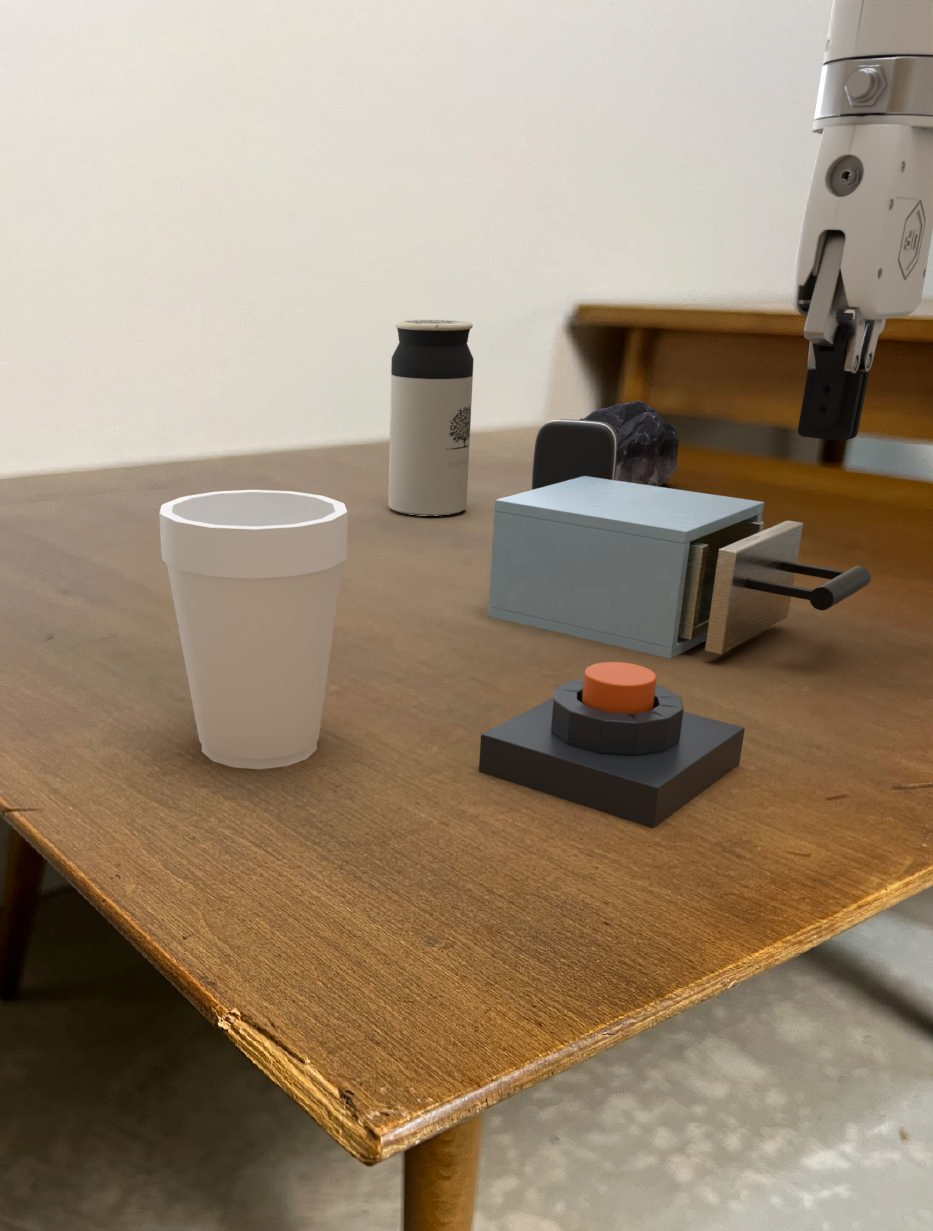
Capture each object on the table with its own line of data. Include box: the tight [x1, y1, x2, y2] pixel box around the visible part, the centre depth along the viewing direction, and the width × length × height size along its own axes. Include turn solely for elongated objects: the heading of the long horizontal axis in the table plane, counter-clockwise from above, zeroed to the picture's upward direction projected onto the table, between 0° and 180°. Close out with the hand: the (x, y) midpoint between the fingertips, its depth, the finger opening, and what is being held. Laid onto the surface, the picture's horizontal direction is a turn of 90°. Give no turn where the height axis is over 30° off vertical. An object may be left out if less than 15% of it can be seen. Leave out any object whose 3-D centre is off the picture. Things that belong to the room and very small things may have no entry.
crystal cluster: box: [578, 400, 680, 487], centre depth 135 cm, size 13×14×10 cm
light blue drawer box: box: [487, 476, 765, 659], centre depth 87 cm, size 15×13×9 cm
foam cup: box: [158, 489, 348, 770], centre depth 63 cm, size 10×9×13 cm
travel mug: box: [387, 319, 475, 516], centre depth 119 cm, size 8×8×18 cm
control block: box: [478, 678, 746, 829], centre depth 62 cm, size 10×10×4 cm
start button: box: [582, 661, 657, 714], centre depth 61 cm, size 4×4×2 cm
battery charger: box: [531, 418, 618, 490], centre depth 104 cm, size 7×4×11 cm, turn 70°
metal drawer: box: [678, 519, 872, 655], centre depth 83 cm, size 19×11×7 cm, turn 50°
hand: (826, 436), depth 75 cm, fingers closed
